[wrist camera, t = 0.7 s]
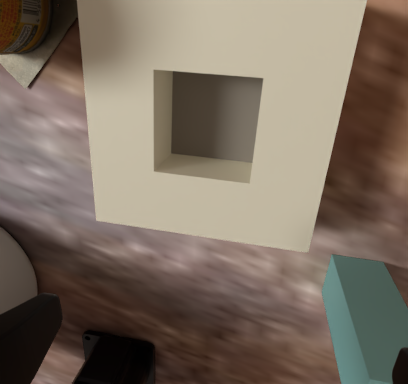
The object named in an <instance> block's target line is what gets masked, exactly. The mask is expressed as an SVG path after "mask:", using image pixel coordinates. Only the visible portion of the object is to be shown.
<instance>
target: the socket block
mask: <svg viewBox="0 0 408 384" xmlns="http://www.w3.org/2000/svg"><path fill="white" fill-rule="evenodd" d="M366 2H367V0H77V7H78V19H79V30H80V41H81V53H82V64H83V75H84V87H85V98H86V109H87V121H88V132H89V143H90V155H91V166H92V177H93V189H94V200H95V211H96V221H102V222H109V223H115V224H122V225H128V226H135V227H142V228H148V229H155V230H161V231H168V232H174V233H181V234H187V235H194V236H201V237H207V238H214V239H220V240H227V241H233V242H240V243H246V244H253V245H260V246H266V247H273V248H279V249H286V250H292V251H299V252H305V253H308V252H309V247H310V243H311V239H312V234H313V230H314V226H315V222H316V217H317V213H318V209H319V204H320V200H321V196H322V191H323V187H324V183H325V179H326V174H327V170H328V166H329V161H330V157H331V153H332V148H333V144H334V140H335V136H336V131H337V127H338V123H339V118H340V114H341V110H342V106H343V101H344V97H345V93H346V88H347V84H348V80H349V75H350V71H351V67H352V63H353V58H354V54H355V50H356V45H357V41H358V37H359V32H360V28H361V24H362V20H363V15H364V11H365V7H366Z"/></svg>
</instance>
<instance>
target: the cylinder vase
mask: <svg viewBox="0 0 408 384" xmlns="http://www.w3.org/2000/svg"><path fill="white" fill-rule="evenodd" d="M35 296H37V280H36V276H35V272H34V270H33V267H32V265H31V263H30V261H29V259H28V257H27V255H26V254H25V252H24V251H23V249H22V248H21V247H20V245H19V244H18V243H17V242H16V241H15V240H14V239H13V237H12V236H11V235H9V234H8V233H7V232H6V231H5V230H4V229H3V228H1V227H0V314H2V313H4V312H6V311H8V310H10V309H12V308H14V307H16V306H18V305H20V304H22V303H23V302H25V301H27V300H29V299H31V298H33V297H35Z"/></svg>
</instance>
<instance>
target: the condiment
mask: <svg viewBox="0 0 408 384" xmlns="http://www.w3.org/2000/svg"><path fill="white" fill-rule="evenodd" d="M57 4H59V7H57ZM77 16H78V7H77V0H0V63H1V64H2V66H3V67H4V68H5V69H6V70H7V71H8V72H9V73H10V74H11V75H12V76H13V77H14V78H15V79H16V80H17V81H18V82H19V83H20V84H21V85H22V86H23V87H24V88H25V89H26V88H27V86H28V85H29V84H30V82H31V81H32V80H33V78H34V77H35V76H36V74H37V73H38V72H39V71H40V69H41V68H42V66H43V64H44V63H45V62H46V61H47V60H48V58H49V57H50V55H51V54H52V53H53V51H54V49H55V48H56V47H57V46H58V44H59V42H60V41H61V39H62V38H63V37H64V35H65V33H66V31H67V30H68V28H69V27H70V25H71V24H72V23H73V22H74V21H75V19H76V18H77Z"/></svg>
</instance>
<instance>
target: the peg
mask: <svg viewBox="0 0 408 384" xmlns="http://www.w3.org/2000/svg"><path fill="white" fill-rule="evenodd" d="M322 296H323V300H324V305H325V310H326V314H327V319H328V324H329V328H330V333H331V338H332V342H333V347H334V352H335V356H336V361H337V366H338V370H339V375H340V380H341V384H393V381H392V370H393V367H394V364H395V362H396V359H397V356H398V353H399V351H400V349H401V348H403V347H407V348H408V307H407V306H406V304H405V302H404V300H403V298H402V296H401V294H400V292H399V291H398V289H397V287H396V285H395V283H394V281H393V279H392V278H391V276H390V274H389V272H388V270H387V268H386V266H385V264H384V263H383V262H379V261H373V260H366V259H359V258H353V257H346V256H340V255H333V254H332V256H331V260H330V263H329V267H328V271H327V274H326V278H325V282H324V286H323V289H322Z"/></svg>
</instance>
